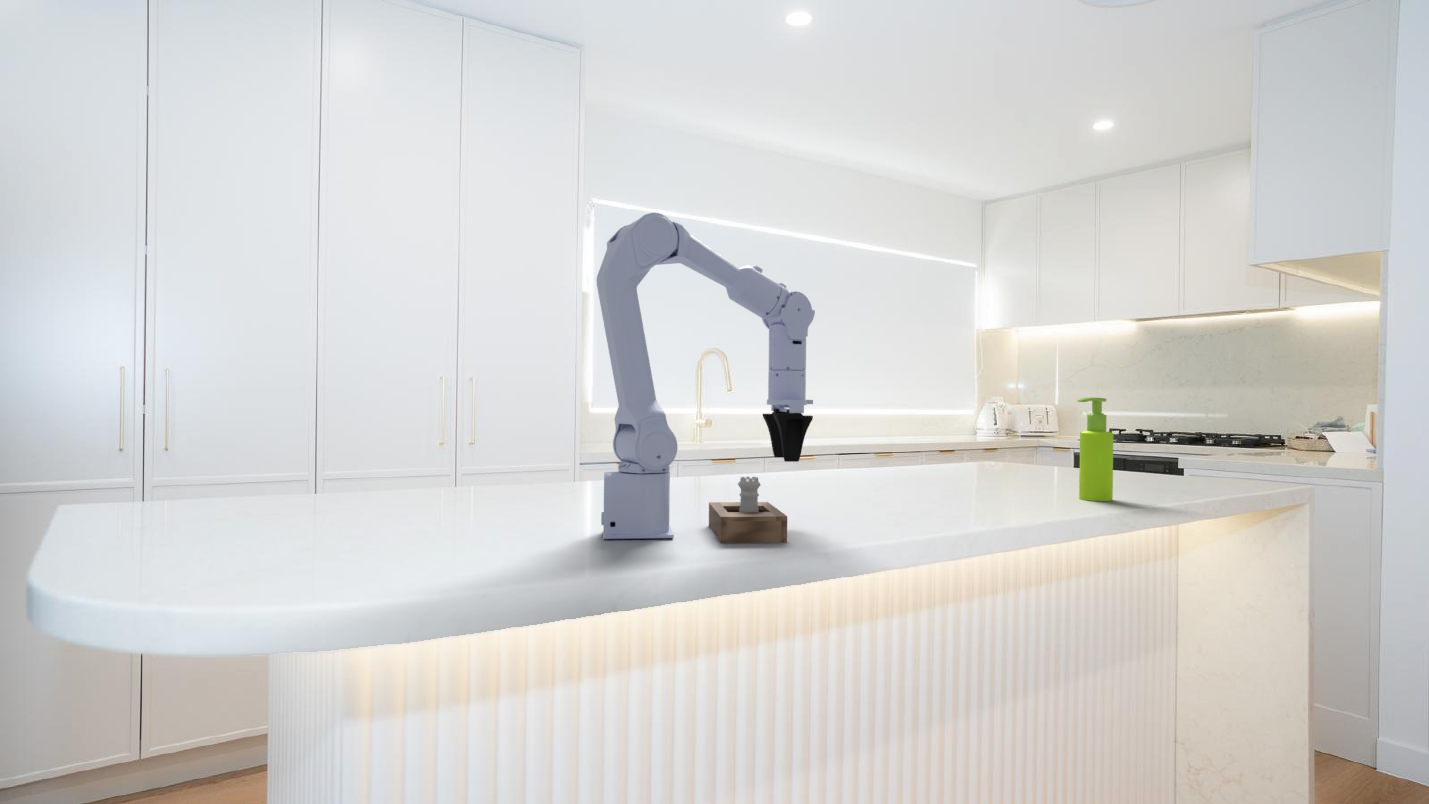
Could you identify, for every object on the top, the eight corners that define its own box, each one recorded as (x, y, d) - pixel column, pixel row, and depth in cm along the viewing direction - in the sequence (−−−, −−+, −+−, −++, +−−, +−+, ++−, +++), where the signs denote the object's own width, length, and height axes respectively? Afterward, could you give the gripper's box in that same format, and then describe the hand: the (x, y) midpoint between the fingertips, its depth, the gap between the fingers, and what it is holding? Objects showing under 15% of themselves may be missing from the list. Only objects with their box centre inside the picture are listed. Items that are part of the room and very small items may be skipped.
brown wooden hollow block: (720, 543, 103) (720, 516, 103) (708, 525, 117) (708, 502, 117) (787, 542, 104) (787, 516, 104) (767, 524, 118) (767, 501, 118)
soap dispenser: (1068, 497, 154) (1069, 397, 153) (1096, 496, 156) (1097, 397, 156) (1090, 501, 148) (1092, 397, 148) (1119, 500, 150) (1120, 397, 150)
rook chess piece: (764, 536, 108) (764, 479, 108) (732, 536, 108) (732, 478, 108) (764, 531, 112) (765, 476, 112) (733, 530, 113) (734, 475, 113)
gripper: (824, 369, 112) (823, 463, 112) (801, 372, 126) (800, 455, 127) (777, 369, 111) (776, 463, 111) (759, 372, 126) (758, 455, 126)
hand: (786, 459), depth 119 cm, fingers open, 7 cm apart
